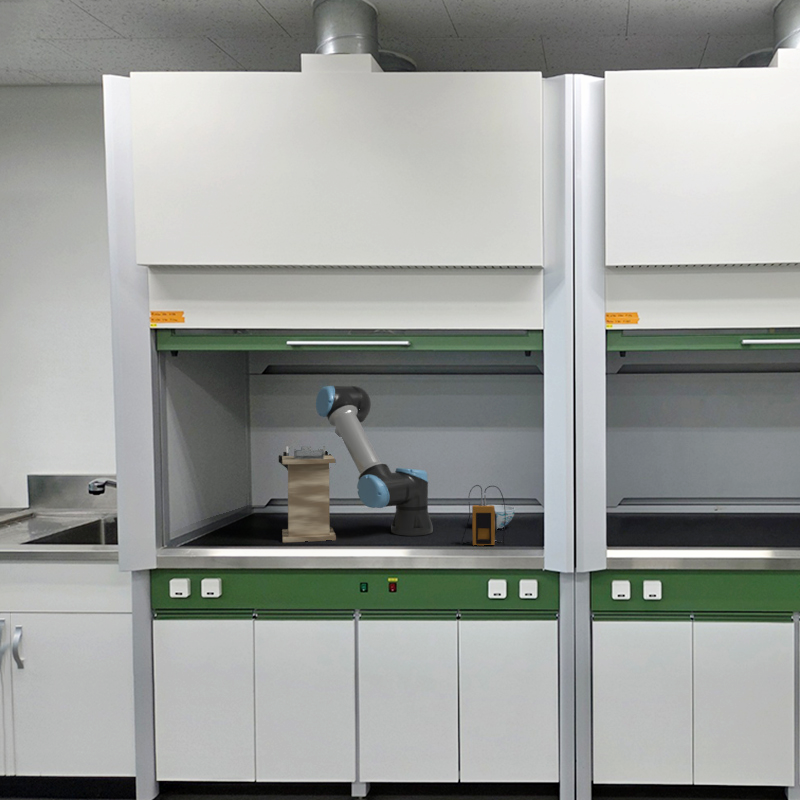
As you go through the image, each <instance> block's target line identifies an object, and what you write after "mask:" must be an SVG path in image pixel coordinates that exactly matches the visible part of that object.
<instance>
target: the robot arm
mask: <svg viewBox="0 0 800 800" xmlns="http://www.w3.org/2000/svg"><path fill="white" fill-rule="evenodd" d="M371 406H372V401H371V398H370V395H369V394H368V393H367V391H366V390H365V389H363V388H362V387H360V386H353V385H351V386H350V385H348V386H347V385H344V386H343V385H328V386H327V385H325V386H323V387H321V389H319V391H318V393H317V395H316V400H315V408H316V412H317V414H318V416H320V417H323V418H326V419H328V421H329V424H330V425H331V426H333V427H334V426H336V429H335V433H336V434H337V435H338V436H339V437H342V439H343V441H344V445H345V446H346V449H347V451H348V453H349V455H350V457H351V458H352V461H353V462H354V465H355V466H356V469H357V471H358V473H359V476H358V477H357V479H358V480H357V481H358V482H357V485H356V486H357V488H356V489H357V495H358V498H359V499H360V502H361V503H362V504H363V505H365V506H366V507H368V508H371V509H374V508H375V509H382V508H386V507H392V506H394V507H395V513H394V515H393V519H392V522H391V526H390V528H391V529H390V530H391V531H390V532H391V533H392V534H394V535H398V536H406V537H407V536H409V537H410V536H417V537H418V536H426V535H431V534H432V533H433V532H434V531H433V527H434V526H433V523H432V520H431V517H430V514H429V509H428V506H429V505H428V504H429V503H428V502H429V501H428V497H429V491H428V490H429V481H428V473H427V472H426V470H424V469H415V468H413V469H412V468H407V467H406V468H403V467H397V468H395V472H392V471H391V470H390V467H389V465H388V464H387V463H384V462H381V460H380V458H379V456H378V454H377V452H376V450H375V449H374V446H373V444H372V443H371V441H370V439H369V437H368V434H367V433H366V431H365V430H364V427H363V426H362V424H361V423H363V422H365V419H366V418H367V417H368V415H369V414H370V411H371ZM359 409H360V410H359ZM289 449H290V448H289V446H287V445H286V451H283V455H280V454H279V455H278V463H279V464H280V465H282V466H283V467H284V468H285V469H286V470H287V472H288V464H282V456H289ZM323 450H324V455H328V452H327V451H325V446H323ZM329 455H331V454H329Z"/></svg>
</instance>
